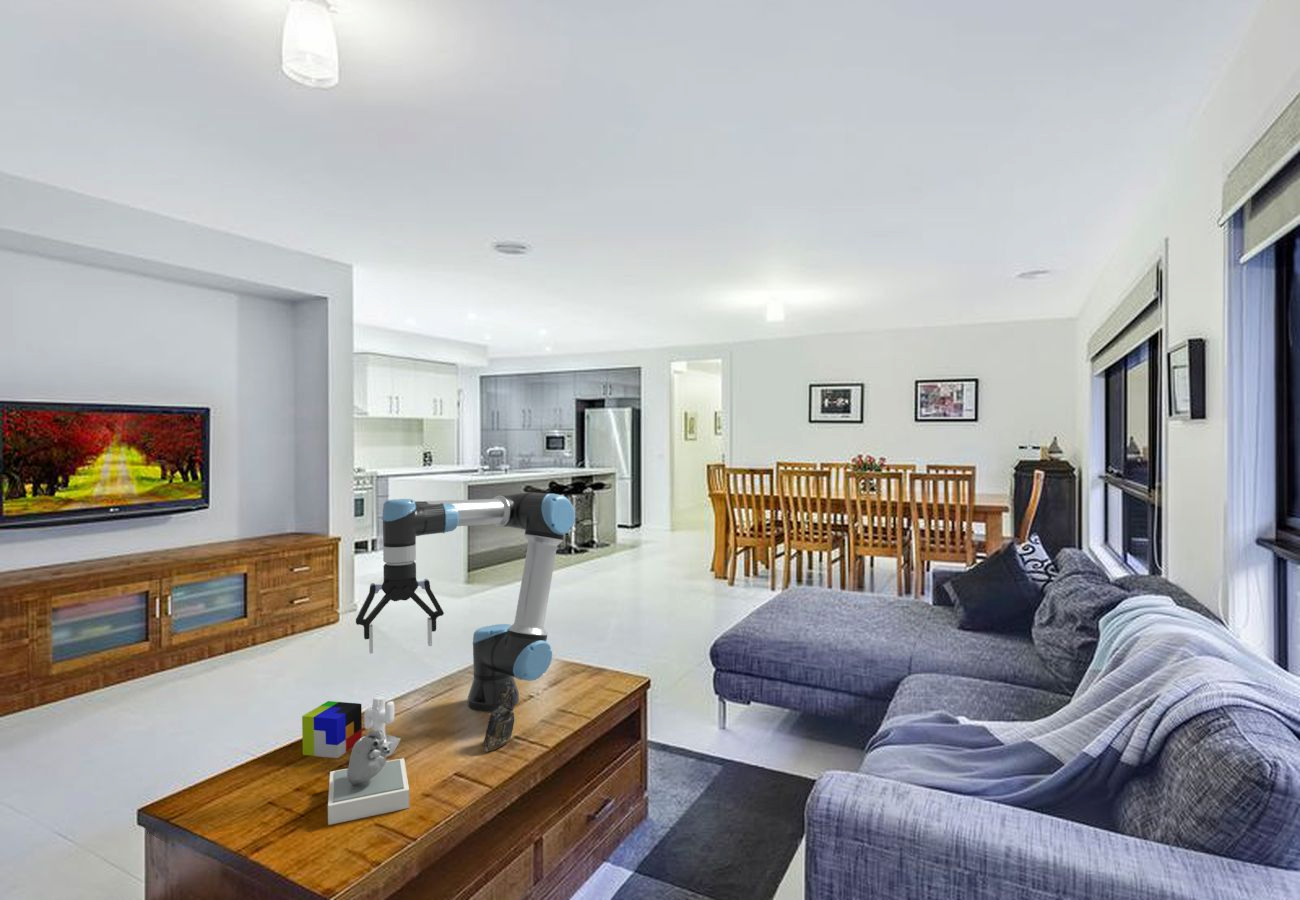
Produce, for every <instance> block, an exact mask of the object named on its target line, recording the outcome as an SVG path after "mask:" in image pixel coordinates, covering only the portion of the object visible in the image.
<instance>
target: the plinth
mask: <svg viewBox="0 0 1300 900" xmlns="http://www.w3.org/2000/svg"><path fill="white" fill-rule="evenodd" d="M347 770H348V768H343V769H337V770H333V771H329V784H328V785H329V786H328V797H327V824H328V826H330V825H335V824H339V823H345V822H349V821H354V820H359V819H363V818H369V817H372V816H378V815H382V814H386V813H392V812H397V811H402V810H406V809H409V808H410V788H409V781H408V773H407V767H406V761H405V757H403V758H397V759H391V760H386V763H385V765H384V766H383V767H382V769H381V771H380V772H379V773H378V774H377V775H375V776H374V777H373V778H371V779H370V780H368V781H366V782H363V783H361V784H358V785H354V786H353V785H352V784H351V783H350V782H349V781H348V778H347Z"/></svg>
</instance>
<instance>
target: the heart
mask: <svg viewBox="0 0 1300 900" xmlns="http://www.w3.org/2000/svg"><path fill="white" fill-rule="evenodd" d="M390 745H391V743H390V742H389V741H388V739H387V738H384V735H383V732H382V731H381V730H380V731H379V730H377V729H372V728H371V730H370V731H368V732H367V734H366V735H365V736H362V738H360V739H359V740H358V741H357V742H356V743H355V744H354V746H353V748H351V752H350V755H349V762H348V767H347V769H348V770H347V778H348V781H349V782H350V783H351V784H352V785H353V786H354V785H358V784H361V783H363V782H366V781H368V780H370V779H371V778H373V777H374V776H375V775H377V774H378V773H379V772H380V771H381V769H382V767H383V766H384V765H385V763H386V761H387V757H386V755H387V754H389V753H390V750H389V749H390Z"/></svg>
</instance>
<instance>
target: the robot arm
mask: <svg viewBox="0 0 1300 900" xmlns="http://www.w3.org/2000/svg"><path fill="white" fill-rule="evenodd" d="M382 507H383V508H382V517H381V520H382V539H383V540H382V543H383V545H382V552H383V553H382V555H383V562H384V565H382V566H383V581H382V584H377V583H370V585H369V591H368V592H369V593H368V594H367V597H366V598H365V600H364V603H363V604H362V607H361V609H360V610H359V612H358V614H357V616H356V618H355V624H356V625H357V626H359V625H360V626H363V639H364V640H369V642H368V644H369V645H368V647H369V655H370V654H374V639H373V638H374V637H373V636H374V635H373V633H374V632H373V631H374V629H373V627H374V626H373V623H372V622H373V621H374V620H375V619H376V618H377V616H378V615H379V614H380V612H381V611H382V610H383V609H384V607H386V606H387V605H388V603H389V602H390V601H393V602H399V601H408V600H410V599H411V600H412V601H414V603H416V604H417V605H418V606H419V607H420V608H421V609H422V610H423V611H424V612H425V613H426V614H427V615H428V616H429V617H427V620H426V621H427V622H426V623H427V646H428V647H432V646H433V632H436V631H437V619H438V618H439V617H441V616H444V614H445V612H444V611H443V608H442V606H441V605H440V603H439V602H438V600H437V598H436V596H435V595H434V593H433V591H432V589H431V585H430V580H429V579H428V578H424V579H423V580H419V581H417V563H416V562H415V561H416V560H417V549H416V548H417V546H416V545H417V542H416V539H417V537H420V536H426V535H434V534H446V533H448V532H453V531H455V530H456V529H457V527H467V526H484V525H485V526H486V525H493V526H495V527H498V528H506V527H507V528H513V529H514V528H515V529H521V530H524V537H525V538H526V540H527V542H528V543H527V549H526V555H525V559H524V565H523V566H524V567H523V572H522V577H521V583H520V589H519V594H518V600H517V605H516V612H515V616H514V623H513V624H507V623H500V624H499V623H498V624H497V623H496V624H492V625H486V626H483V627H480V628H477V629H475V631H474V632H473V638H472V653H473V654H472V655H473V656H472V658H473V659H472V660H473V661H472V662H473V663H472V664H473V679H472V683H471V686H470V690H469V692H468V696H467V706H468V708H469V709H471V710H474V711H476V712H486V713H487V712H489V713H491V712H492V711H493V710H495V709H497V708H498V707H499V706H496V702H497V699H498V697H499V694H500V692H501V690H503V687H504V684H505V683H506V682H508V683H513V684H514V693H515V703H514V706H517V704H518V703H519V701H520V692H519V690H518V686H517V684H516V680H515V678H516V679H518V680H521V681H522V680H523V681H527V682H531V681H532V682H533V681H536V680H537V679H540V678H541V677H542V676H543V674H545V673H546V672H547V671H548V669H549V668H550V666H551V662H552V659H553V649H552V648H551V645H550V644H549V643H548V641H547V640H548V639H547V638H548V632H547V630H546V629H545V626H544V625H545V620H546V616H547V608H548V602H549V595H550V591H551V586H552V585H551V584H552V578H553V572H554V568H555V567H554V565H555V562H556V561H555V560H556V554H557V548H558V546H559V545H560V544H561V543H562V542H564V538H565V535H566V534H568V533H569V532H570V531H571V529H572V528H573V527H574V524H575V522H576V521H575V520H576V514H575V513H576V512H575V509H574V506H573V504H572V503H571V501H570V499H568V497H566V496H564V495H562V494H556V493H546V492H545V493H543V492H530V491H529V492H528V491H527V492H520V493H515V494H504V495H496V496H495V497H493V498H485V499H484V498H483V499H480V498H479V499H455V500H453V499H452V500H423V501H419V500H418V501H417V500H416V501H415V500H414V499H413V498H396V499H387V500H386V501H384V503H383V506H382ZM418 587H420V588H421V589H422V590H425V591H426V592H425V593H426V594H427V596H428V598H429V599H430V601H431V603H432V605H433V606H434V608H435V610H436V611H433V609H432V608H431V607H430V606H429V605H428V604H427V603H425V602H424V600H423V599H422V598H421V597H419V596H418V594H417V593H416V590H417V589H418ZM380 590H381V591H382V592H383V593H384V595H383V597H382V598H381V600H379V602H378V603H377V605H376V606H375V607H374V608H373V609H372V610H371V612H370V613H369V614H368V615H367V617H366V614H367V612H368V610H369V608H370V606H371V604H372V602H373V600H374V599H375V596H376V595H377V594H378V593H379V591H380ZM365 617H366V618H365Z"/></svg>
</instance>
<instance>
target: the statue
mask: <svg viewBox="0 0 1300 900" xmlns="http://www.w3.org/2000/svg"><path fill="white" fill-rule="evenodd" d="M514 703H515V693H514V684H513V683H508V682H506V683H505V684H504V687H503V690H501V692H500V694H499V697H498V699H497V702H496V706H499V707H498V708H497V709H495V710H493V711H492V712H490V714H489V717H488V721H487V727H486V731H485V736H484V739H483V741H482V746H483V750H484V751H485V752H491V751H495V750H497V749H500V747H503V746H504V745H506V744H507V743H508V742H509V741H510V740H511V737H512V735H513V730H514V723H515V713H514V712H513V711H514V709H515V705H514Z"/></svg>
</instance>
